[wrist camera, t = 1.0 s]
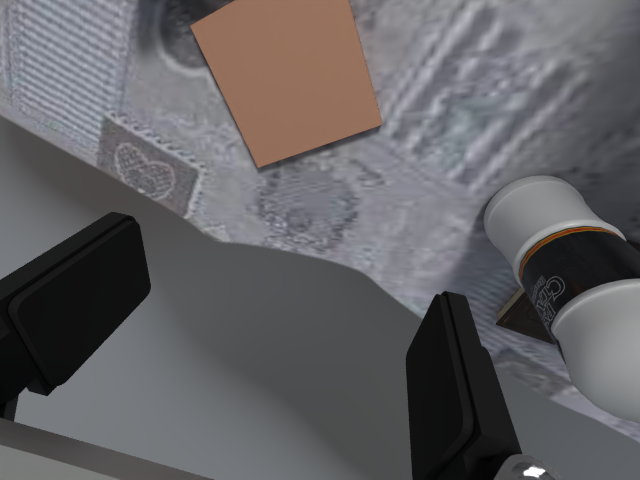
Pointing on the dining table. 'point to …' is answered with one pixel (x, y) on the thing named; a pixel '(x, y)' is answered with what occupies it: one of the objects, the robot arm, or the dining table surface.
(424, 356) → the robot arm
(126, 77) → the dining table surface
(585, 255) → the vodka
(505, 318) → the hardcover book
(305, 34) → the mat
